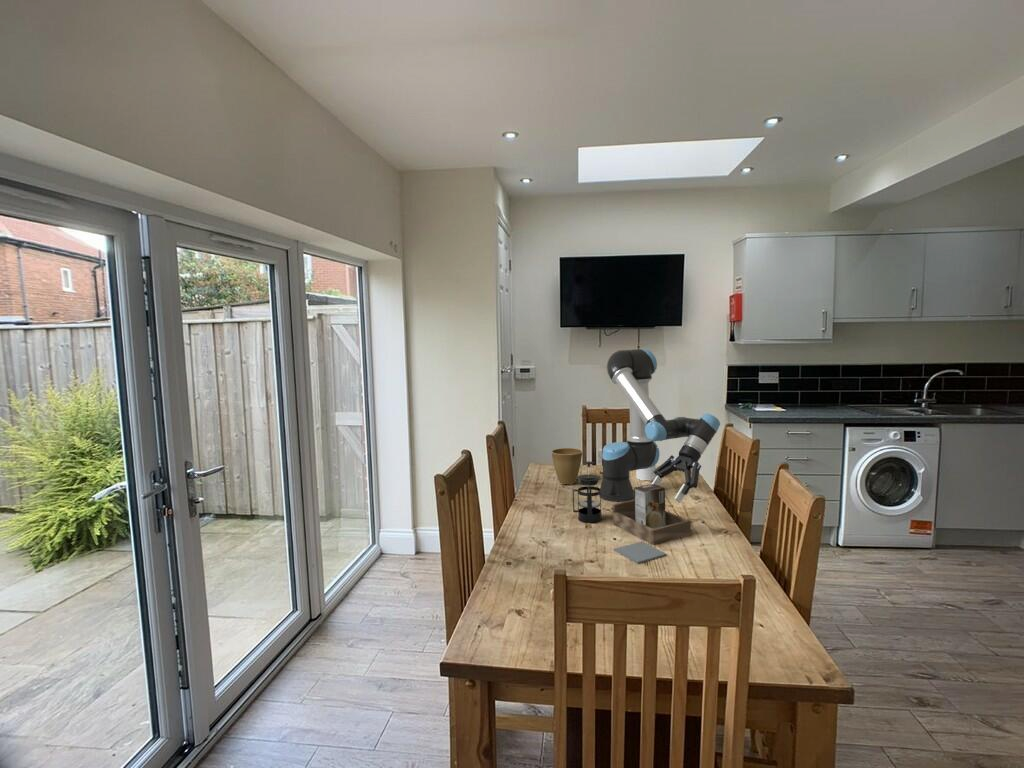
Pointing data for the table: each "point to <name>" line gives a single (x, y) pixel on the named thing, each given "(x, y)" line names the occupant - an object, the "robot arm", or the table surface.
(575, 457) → the plant pot
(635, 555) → the slate mat
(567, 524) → the table surface
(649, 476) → the cylinder container
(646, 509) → the coffee box
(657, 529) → the wooden tray
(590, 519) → the french press
